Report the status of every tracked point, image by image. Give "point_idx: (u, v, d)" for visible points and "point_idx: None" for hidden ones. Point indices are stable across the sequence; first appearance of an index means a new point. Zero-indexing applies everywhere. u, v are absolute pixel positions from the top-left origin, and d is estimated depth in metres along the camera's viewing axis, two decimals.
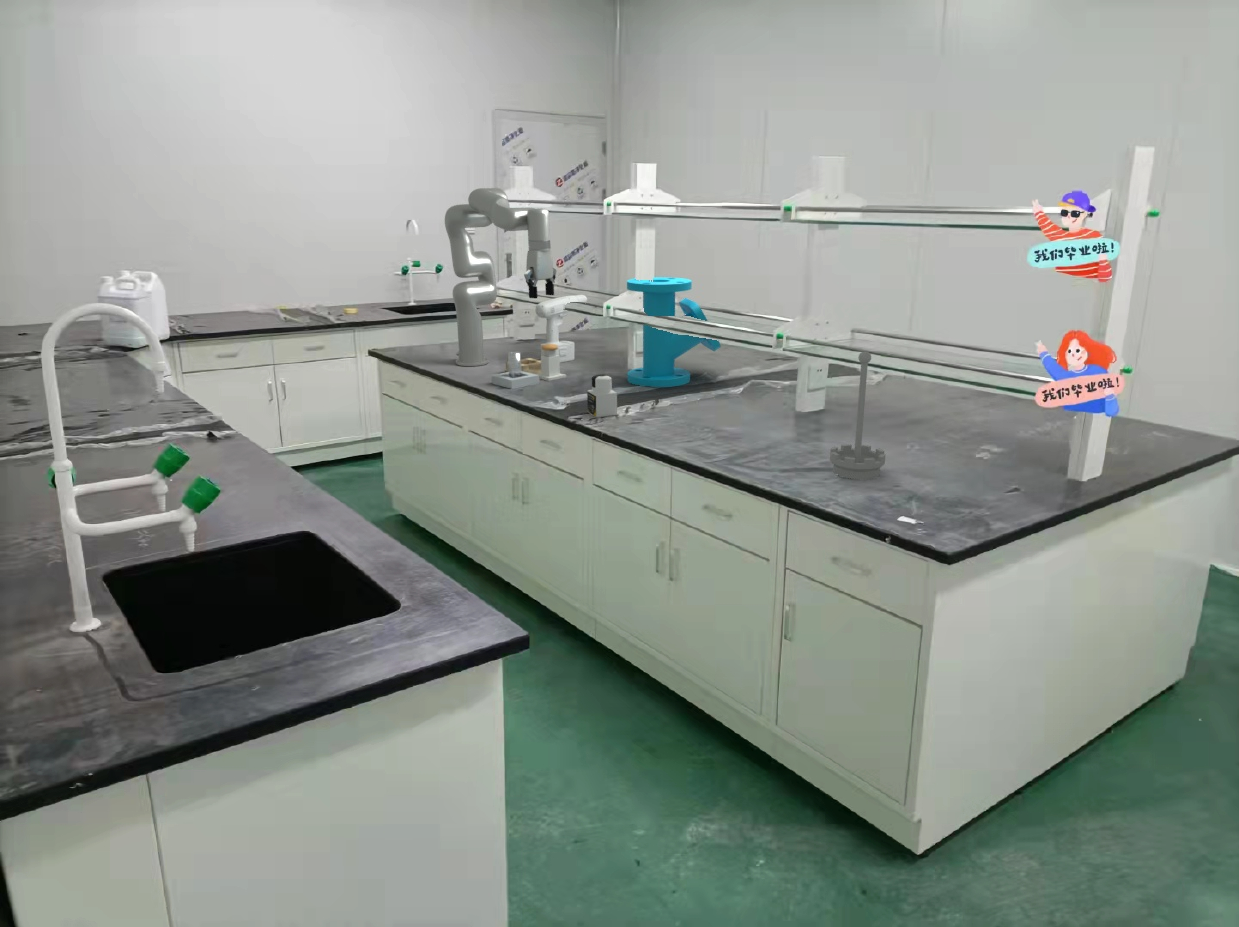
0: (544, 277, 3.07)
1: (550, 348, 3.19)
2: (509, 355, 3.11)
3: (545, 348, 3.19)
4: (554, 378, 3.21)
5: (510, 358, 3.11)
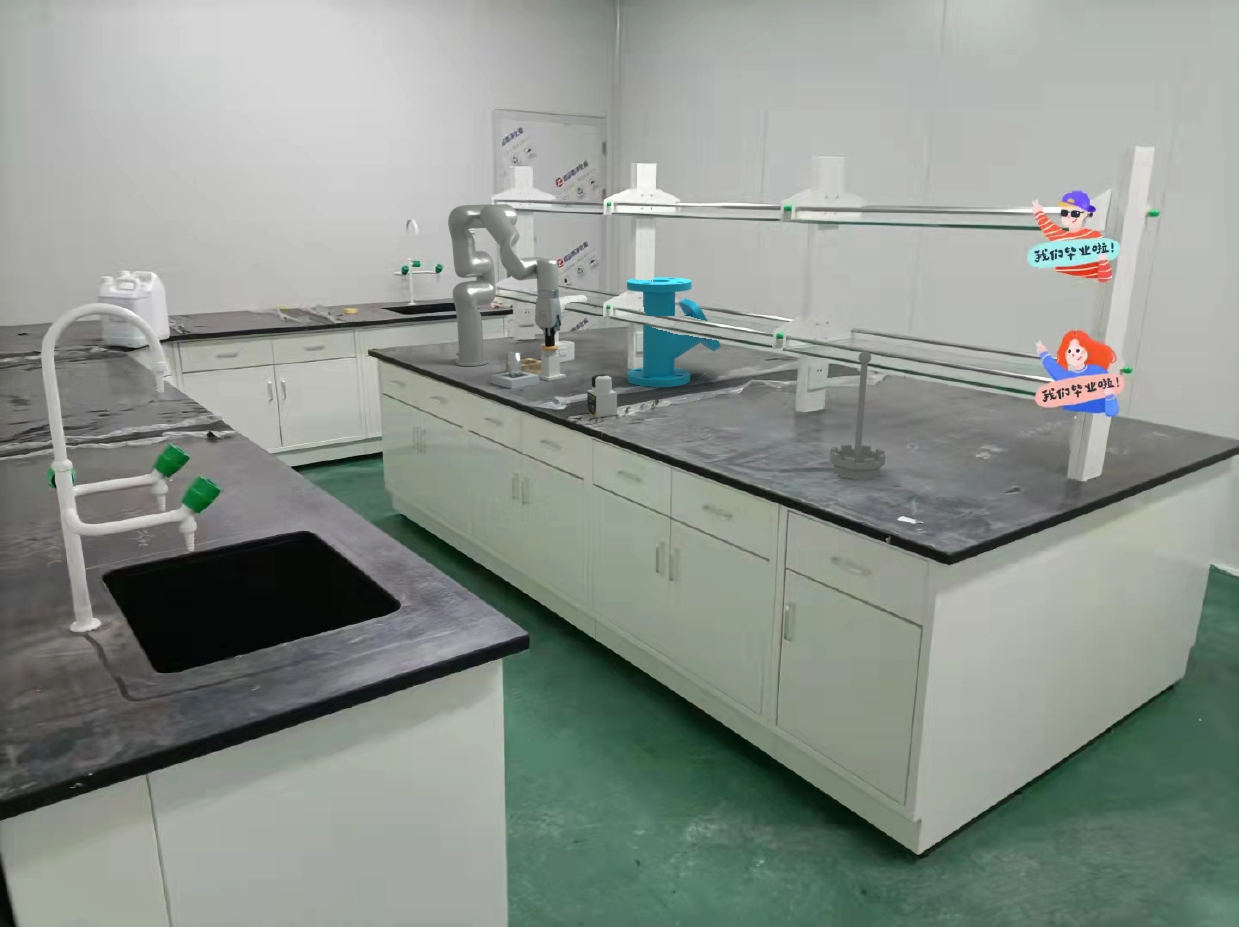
0: None
1: (550, 349, 3.19)
2: (509, 355, 3.11)
3: (545, 349, 3.19)
4: (554, 378, 3.21)
5: (510, 358, 3.11)
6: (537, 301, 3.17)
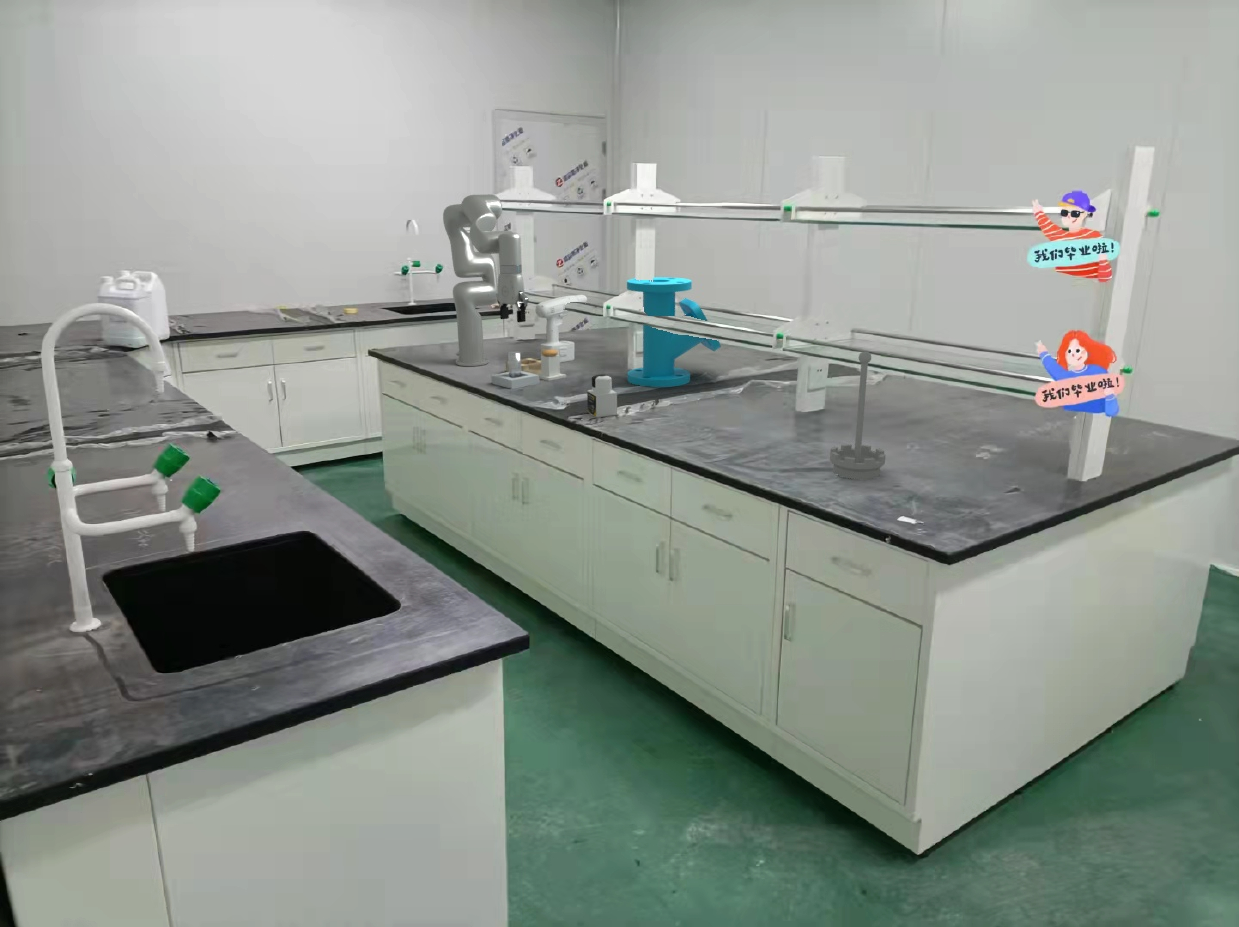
0: None
1: (550, 353, 3.19)
2: (509, 355, 3.11)
3: (545, 353, 3.20)
4: (554, 378, 3.21)
5: (510, 358, 3.11)
6: (499, 277, 3.05)
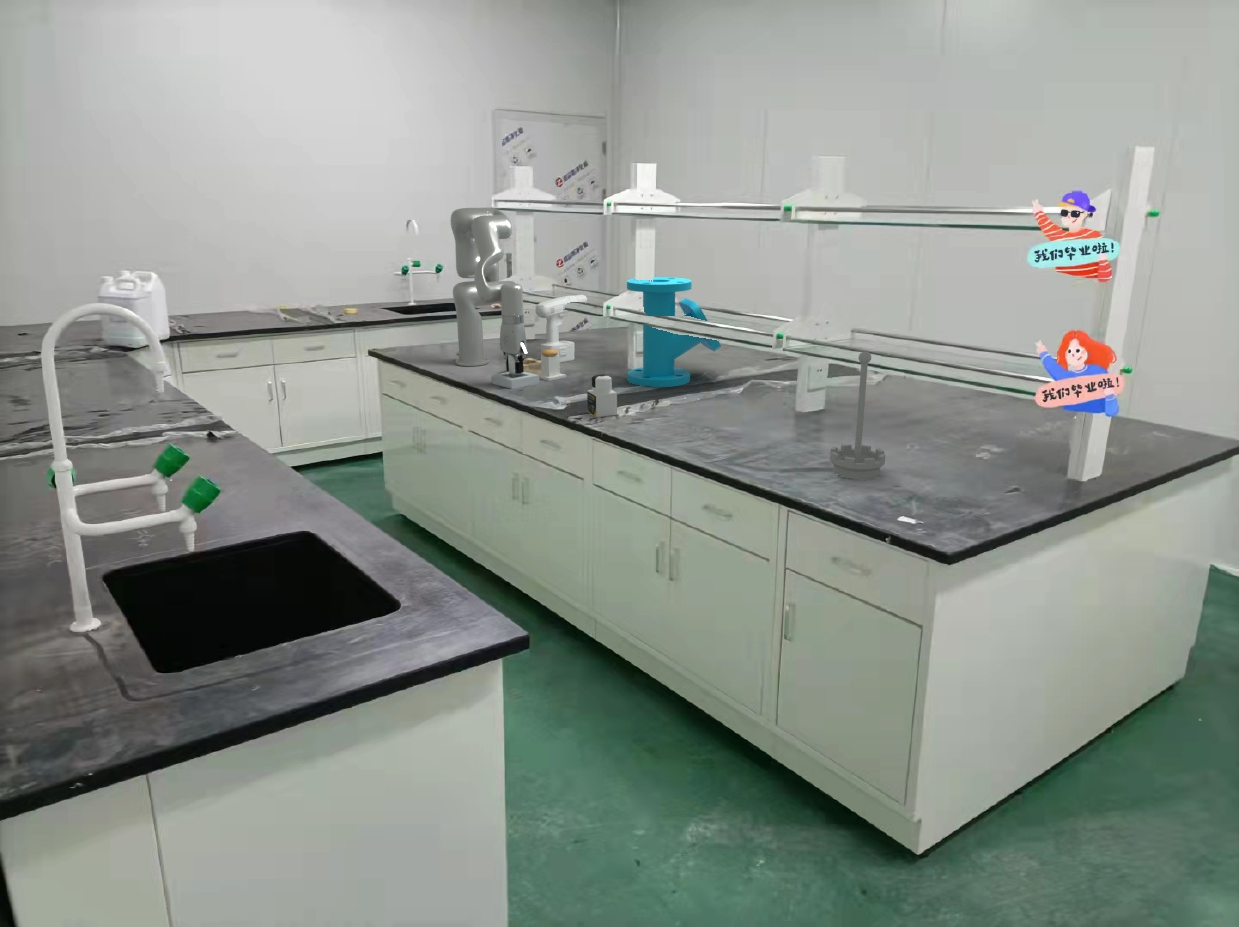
0: None
1: (550, 353, 3.19)
2: (509, 355, 3.11)
3: (545, 353, 3.20)
4: (554, 378, 3.21)
5: (510, 358, 3.11)
6: (502, 326, 3.10)
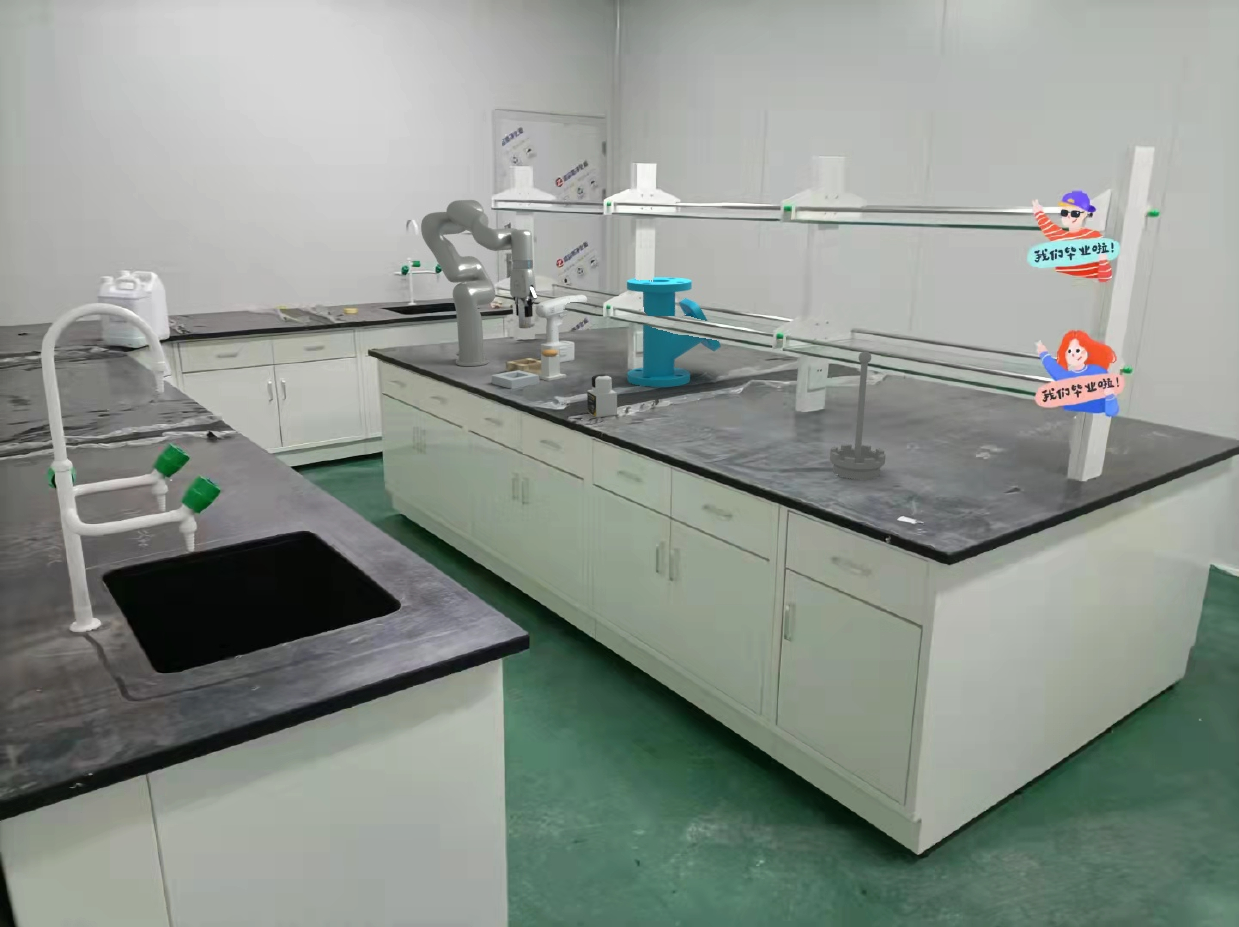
0: None
1: (550, 353, 3.19)
2: (519, 299, 3.24)
3: (545, 353, 3.20)
4: (554, 378, 3.21)
5: (520, 302, 3.24)
6: (512, 271, 3.23)
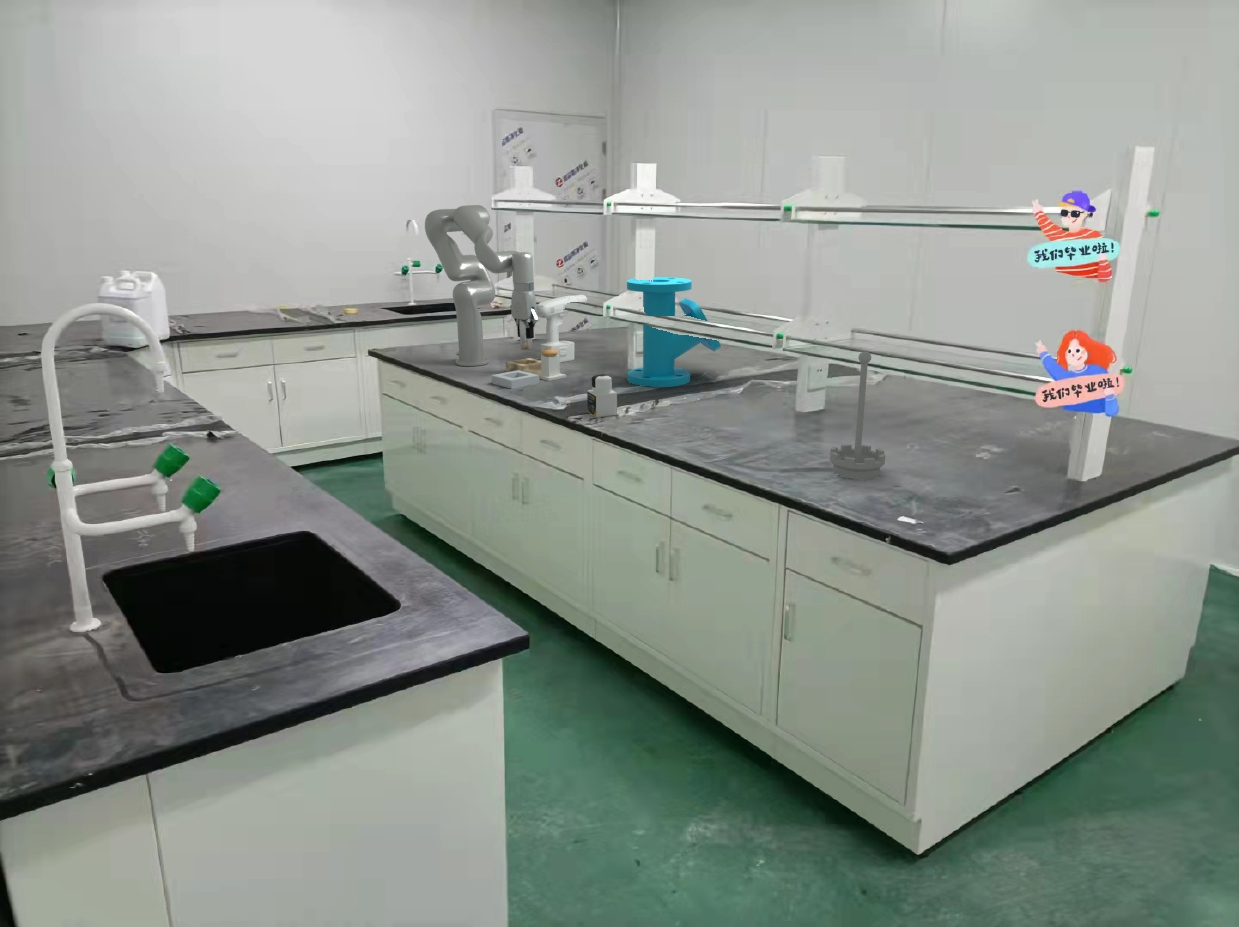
0: None
1: (550, 353, 3.19)
2: (520, 321, 3.26)
3: (545, 353, 3.20)
4: (554, 378, 3.21)
5: (521, 324, 3.26)
6: (513, 294, 3.25)
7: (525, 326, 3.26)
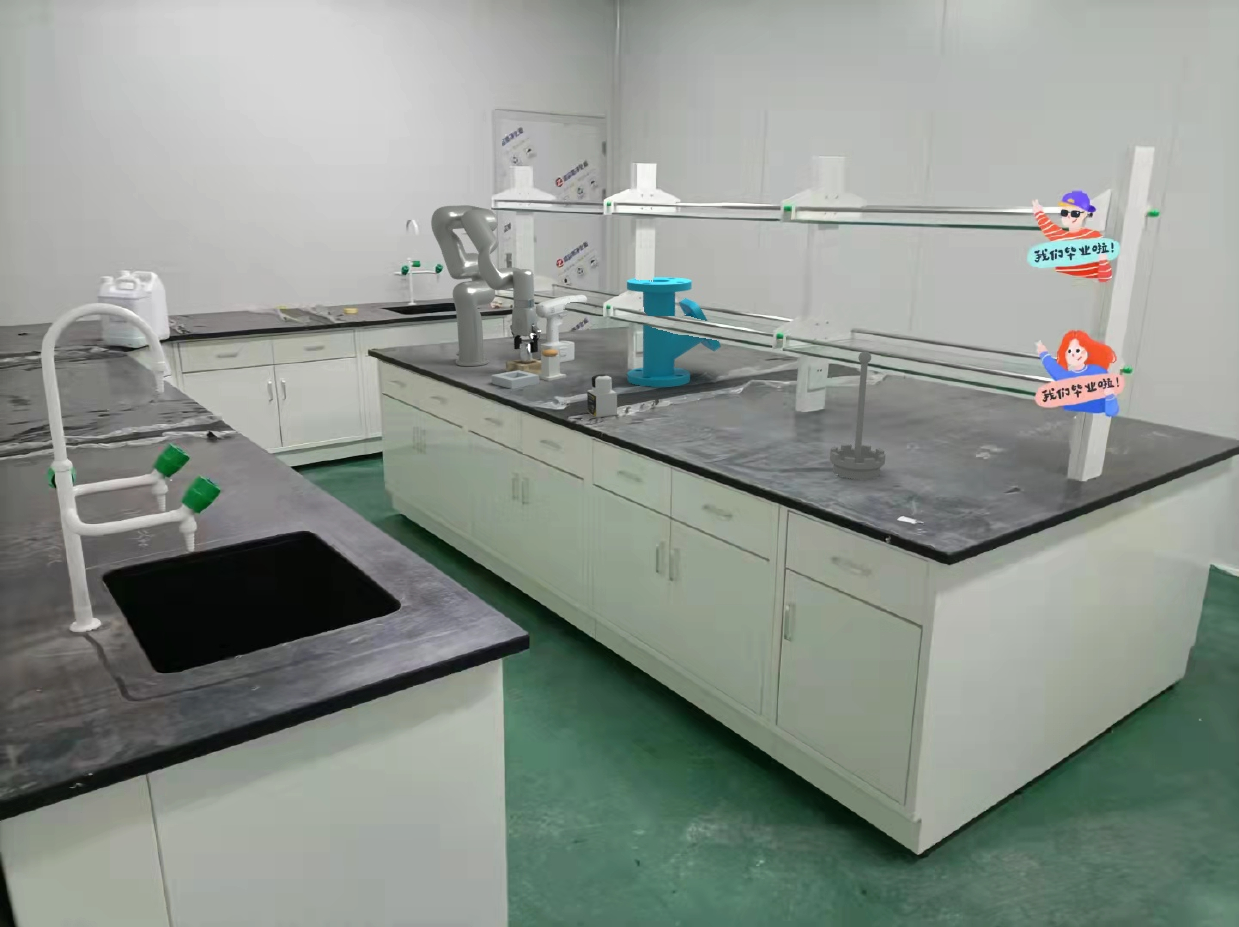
0: None
1: (550, 353, 3.19)
2: (521, 345, 3.29)
3: (545, 353, 3.20)
4: (554, 378, 3.21)
5: (522, 348, 3.29)
6: (513, 310, 3.27)
7: (526, 350, 3.29)
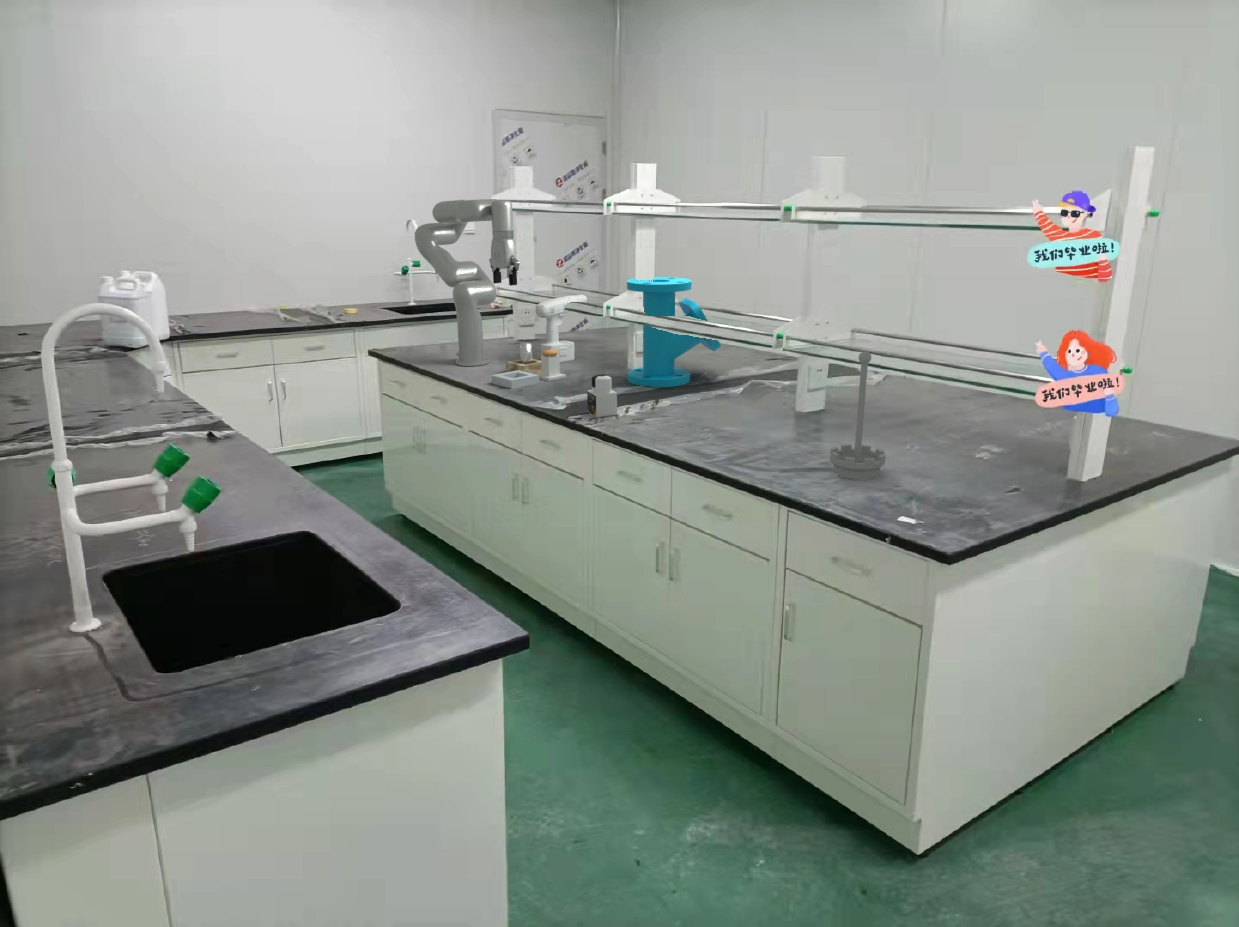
0: None
1: (550, 353, 3.19)
2: (521, 345, 3.29)
3: (545, 353, 3.20)
4: (554, 378, 3.21)
5: (522, 348, 3.29)
6: (492, 242, 3.22)
7: (526, 350, 3.29)
